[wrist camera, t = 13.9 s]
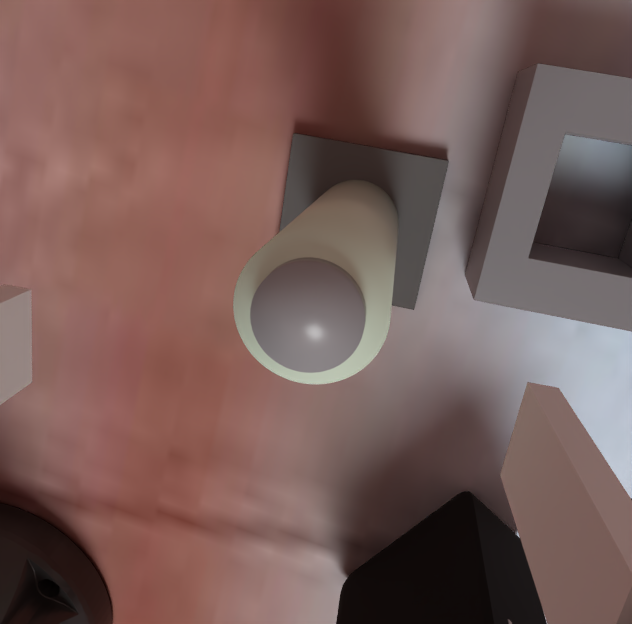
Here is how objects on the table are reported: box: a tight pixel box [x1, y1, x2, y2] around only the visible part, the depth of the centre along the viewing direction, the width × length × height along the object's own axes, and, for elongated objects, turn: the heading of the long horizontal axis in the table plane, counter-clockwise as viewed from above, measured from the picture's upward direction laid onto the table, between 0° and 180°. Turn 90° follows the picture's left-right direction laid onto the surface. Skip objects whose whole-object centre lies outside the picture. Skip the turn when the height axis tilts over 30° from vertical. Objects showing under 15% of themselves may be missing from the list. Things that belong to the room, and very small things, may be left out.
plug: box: [233, 180, 399, 384], centre depth 20 cm, size 4×4×14 cm
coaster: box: [279, 133, 449, 310], centre depth 27 cm, size 7×7×1 cm
